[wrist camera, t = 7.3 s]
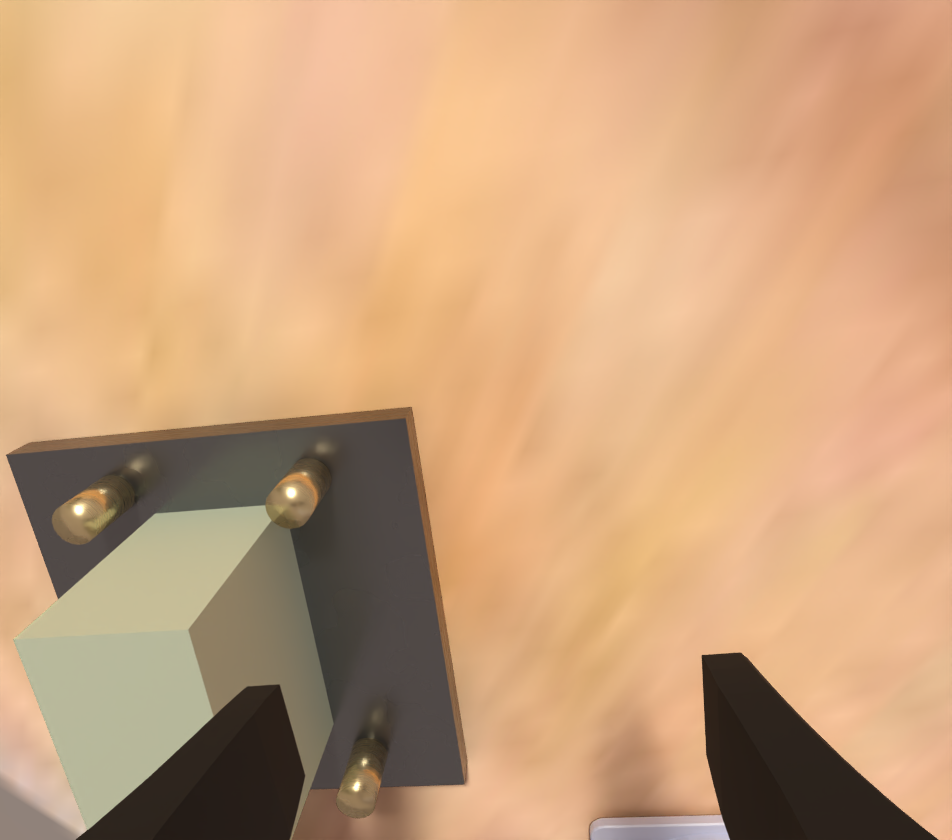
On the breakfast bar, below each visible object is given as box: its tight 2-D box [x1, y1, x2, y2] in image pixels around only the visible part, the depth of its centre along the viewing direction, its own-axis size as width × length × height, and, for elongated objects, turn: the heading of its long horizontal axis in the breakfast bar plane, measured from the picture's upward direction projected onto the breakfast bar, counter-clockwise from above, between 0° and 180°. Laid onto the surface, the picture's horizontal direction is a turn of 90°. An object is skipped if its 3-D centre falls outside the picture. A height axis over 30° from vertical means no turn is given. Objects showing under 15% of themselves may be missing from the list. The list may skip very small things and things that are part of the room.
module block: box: [13, 505, 334, 840], centre depth 19 cm, size 4×8×6 cm, turn 7°
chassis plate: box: [6, 407, 467, 818], centre depth 21 cm, size 13×12×3 cm
